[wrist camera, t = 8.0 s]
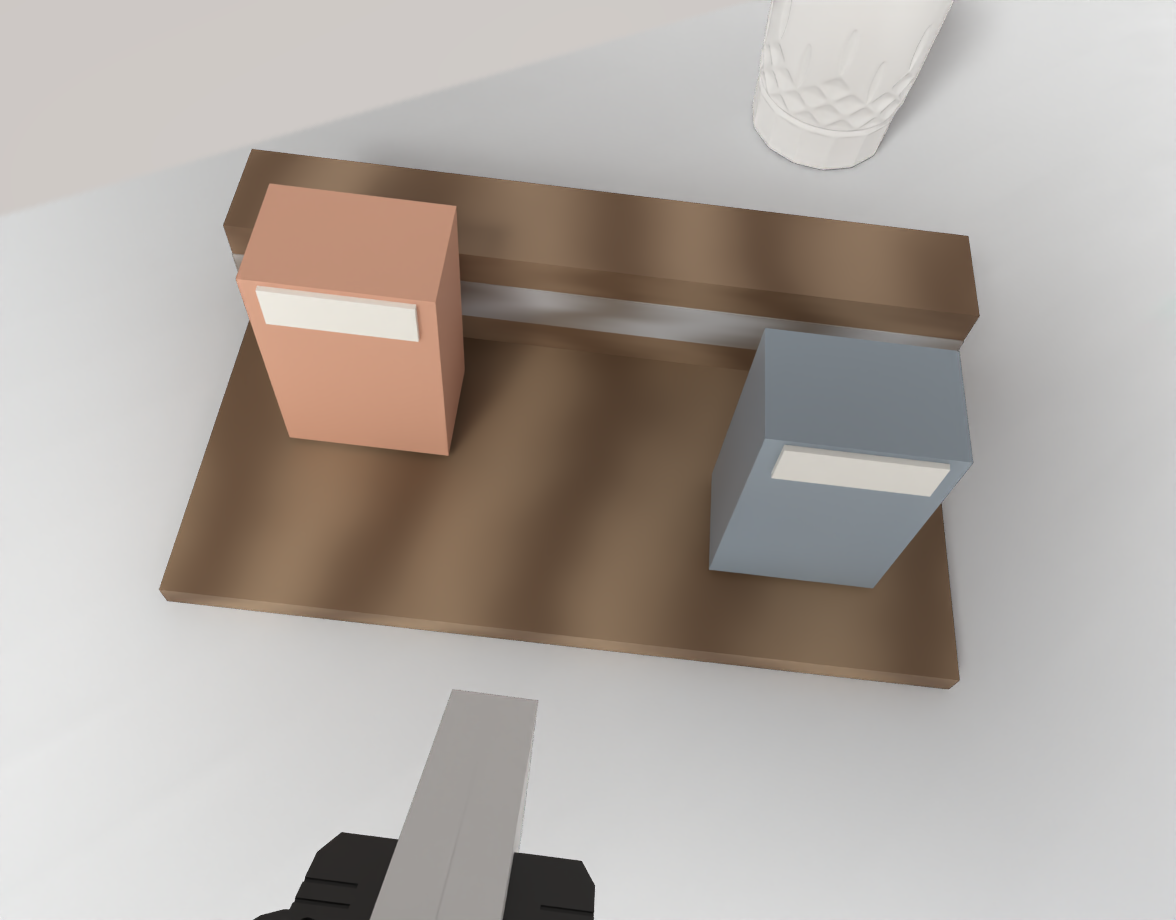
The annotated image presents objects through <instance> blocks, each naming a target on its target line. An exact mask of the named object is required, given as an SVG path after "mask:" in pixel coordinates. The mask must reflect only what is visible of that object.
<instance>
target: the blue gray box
mask: <svg viewBox="0 0 1176 920" xmlns="http://www.w3.org/2000/svg"><path fill="white" fill-rule="evenodd" d="M972 464H973V458H972V450H971V442H970V434H969V425H968V417H967V409H966V401H965V393H964V385H963V377H962V369H961V361H960V353H959V351H954V350H946V349H938V348H929V347H921V346H912V345H904V344H896V343H887V342H879V341H871V340H862V339H854V338H845V337H837V336H829V335H820V334H812V333H804V332H795V331H787V330H778V329H770V328H765V330H764V332H763V335H762V338H761V341H760V343H759V346H758V349H757V352H756V354H755V357H754V360H753V363H752V365H751V368H750V371H749V373H748V376H747V379H746V382H745V384H744V387H743V390H742V393H741V395H740V398H739V401H738V404H737V406H736V409H735V412H734V415H733V417H732V420H731V423H730V426H729V428H728V431H727V434H726V437H725V439H724V442H723V445H722V448H721V450H720V453H719V456H718V459H717V461H716V464H715V467H714V470H713V472H712V484H711V516H710V548H709V570H717V571H725V572H734V573H743V574H752V575H760V576H769V577H778V578H786V579H795V580H804V581H813V582H821V583H830V584H839V585H847V586H856V587H865V588H874V586H875V585H876V584H877V583H878V581H879V580H880V579H881V578H882V576H883V575H884V574H885V573H886V571H887V570H888V569H889V568H890V566H891V565H892V564H893V563H894V561H895V560H896V559H897V558H898V556H899V555H900V554H901V553H902V551H903V550H904V549H905V548H906V546H907V545H908V544H909V543H910V541H911V540H912V539H913V538H914V536H915V535H916V534H917V533H918V531H919V530H920V529H921V528H922V526H923V525H924V524H925V523H926V521H927V520H928V519H929V518H930V516H931V515H932V514H933V513H934V511H935V510H936V509H937V508H938V506H939V505H940V504H941V503H942V501H943V500H944V499H945V498H946V496H947V495H948V494H949V493H950V491H951V490H952V489H953V488H954V486H955V485H956V484H957V483H958V481H959V480H960V479H961V478H962V476H963V475H964V474H965V473H966V471H967V470H968V469H969V467H970V466H971V465H972Z"/></svg>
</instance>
